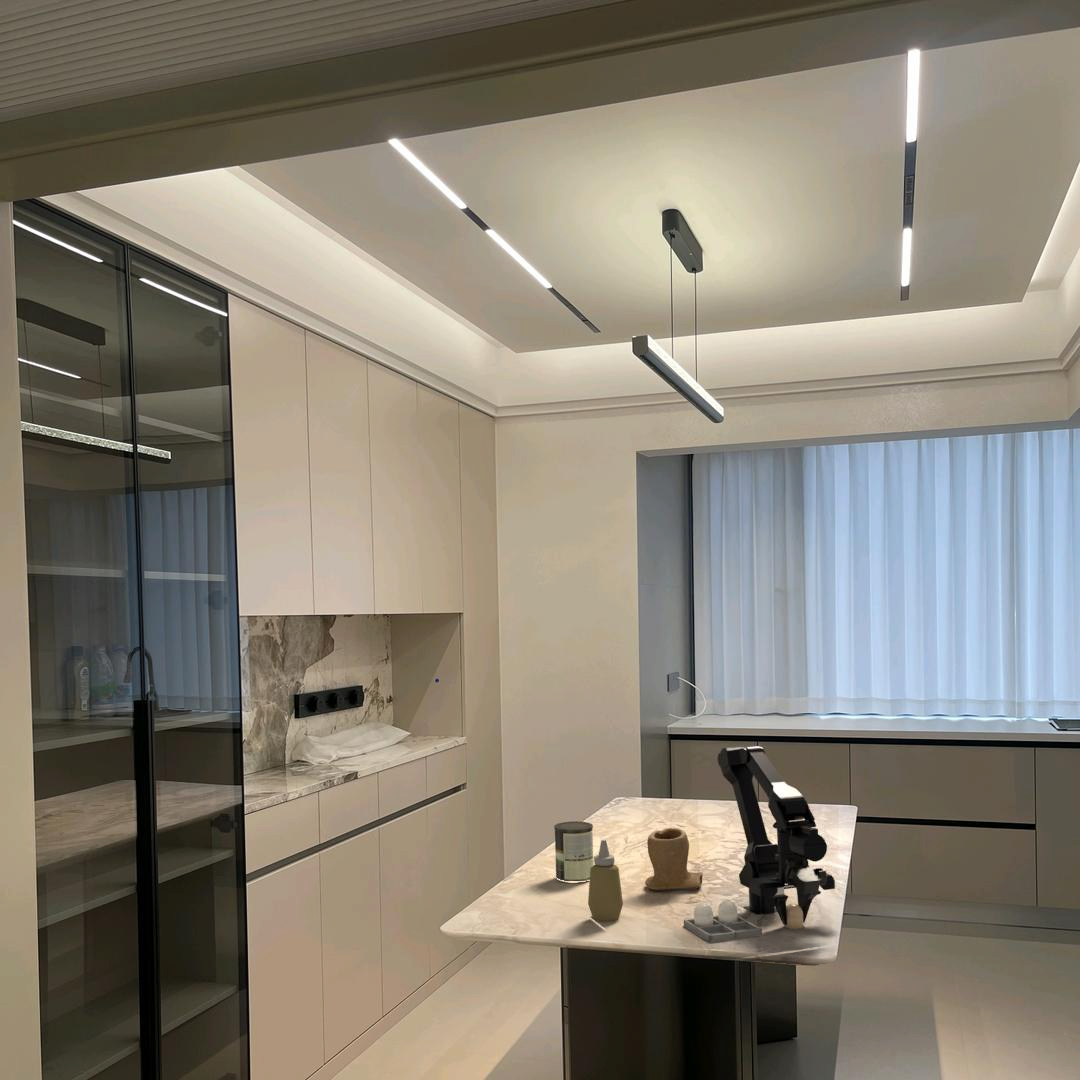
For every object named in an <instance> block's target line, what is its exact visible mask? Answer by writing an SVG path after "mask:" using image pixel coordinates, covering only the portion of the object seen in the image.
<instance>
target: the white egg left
mask: <svg viewBox="0 0 1080 1080" xmlns="http://www.w3.org/2000/svg"><path fill="white" fill-rule="evenodd" d="M737 907H738V906H736V904H735V903H734V902H733V901H731V900H724V901H721V902H720V904H719V905H718V909H717V912H718V913H717V914H718V915H717V916H718V919H719V922H720V923H722V924H726V923H734V922H738V917H737V915H738V908H737Z"/></svg>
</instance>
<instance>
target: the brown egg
mask: <svg viewBox="0 0 1080 1080" xmlns="http://www.w3.org/2000/svg"><path fill="white" fill-rule="evenodd" d="M786 911H787V925H784V924H783V926H784V927H785V928H787V929H790V930H791V929H792V930H800V929H803V928H804V925H805V924H804V923H803V911H802V909H801V907H800V906H798V903H797V904H796V903H789V904H786Z"/></svg>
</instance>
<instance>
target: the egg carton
mask: <svg viewBox="0 0 1080 1080" xmlns="http://www.w3.org/2000/svg"><path fill="white" fill-rule="evenodd" d="M737 917H738V922H734V923H726V924H722V923H720V922H719V919H718V915H713V925H710V926H702V927H697V926H696V925H694V918H689V919H683V927H685V928H686V929H688V930H690V931H691V932H692V933H694V934H696V935H697V936H698V937H700V938H702V939H704V940H705V941H707V942H709V943H716V942H723V941H731V940H738V939H747V938H753V937H760V936H763V929H762V927H759V926H758V925H755V923H753V922H751V921H748V920H747V919H744V918H743V917H741V916H739V915H738V914H737Z"/></svg>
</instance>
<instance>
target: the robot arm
mask: <svg viewBox="0 0 1080 1080" xmlns="http://www.w3.org/2000/svg"><path fill="white" fill-rule="evenodd" d="M717 763H718V765H719V768H720V770H721V772H722V776H723V777H724V779H726V780H727V782H729V784H731V786H732V788H733V793H734V797H735V800H736V801H735V802H736V804H737V808H738V811H739V816H740V819H741V823H742V827H743V831H744V834H745V835H744V836H745V838H746V843H747V845H746V849H745V853H744V855H743V860H744V866H743V867H742V869H741V871H740V872H739V874H738V877H739V878H738V879H739V883H740V885H742V886H744V887H746V888H747V889H748V906H743V909H744V910H746V911H748V912H751V913H752V914H754V915H757V916H759V915H765V914H766V915H767V914H775V913H777V914H778V917H779V919H780V922H781V923H782V924H783V926H784V925H787V911H786V906H787V900H788V898H789V895H786V894H785V890H787V889H788V890H789V889H790V890H791V889H796V897H797V905H798V906H800V907H801V909H802V911H803V924H804V923H806V919H807V916H808V912H809V911H810V907H811V904H812V902H813V900H814V899H815V897H817V896H818V895H821V893H822V891H821V890H823V891H829V890H834V889H836V879H835V878H834V876H833V875H832V874H829V873H827V869H825V868H824V867H816V868H813V867H812V868H811V867H810V865H809V861H811V862H820V861H821V860H822V859H824V857H826V854H827V851H828V846H827V845H828V844H827V842H826V840H825V838H824V837H823V836H822V835H821V834H819V829H818V828H816V827H817V824H816V822H815V819H816V818H815V816H814V814H813V813H812V811H811V809H810V806H809V803H808V801H807V800H806V798H805V796H804V795H803V794H802V793H800V791H799V790H798V788H797V789H796V787H793V786H791V785H788V784H787V783H786V782H785V780H784V779H783V778H782V777H781V774H780V773H779V772H778V770H777V769H776V768H775V767H774V765H773V764H772V762H771V761H770V759H769V758H768V756H767V755H766V751H765V749H764V747H762V746H759V745H754V746H733V747H732V746H731V747H730V746H729V747H723V748H722V749H721V750H720V752H719V753H718V754H717ZM753 778H755V780H756V781H757V782H758V784H759V786H760V787H761V788H762V790H763V791H764V793H765V794H766V796H767V798H768V803H767V806H768V810H769V811H770V813H771V816H772V818H773V819H774V820H775V822H774V823H773V824H772V828H773V829H775V830H776V838H777V839H776V842H777V843H774V844H773V843H772V842H771V841H770V839H769V838H768V835H767V834H768V833H767V831H766V827H765V823H764V819H763V816H762V811H761V808H760V803H759V801H758V797H757V793H756V790H755V789H756V788H755V785H754V782H753ZM820 888H821V890H820Z"/></svg>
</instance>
